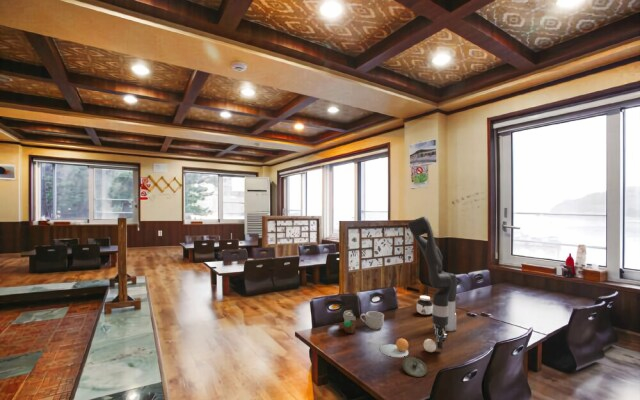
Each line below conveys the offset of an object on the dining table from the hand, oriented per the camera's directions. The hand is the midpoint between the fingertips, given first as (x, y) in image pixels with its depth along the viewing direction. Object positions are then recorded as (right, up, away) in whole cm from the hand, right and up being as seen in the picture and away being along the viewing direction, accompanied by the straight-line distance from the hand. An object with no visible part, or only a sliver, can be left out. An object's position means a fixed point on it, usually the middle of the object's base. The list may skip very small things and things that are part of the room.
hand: (439, 348), depth 157 cm
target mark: (-23, -1, -1) cm, 23 cm away
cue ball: (-5, +2, 0) cm, 5 cm away
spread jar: (+13, -4, +57) cm, 59 cm away
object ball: (-19, +2, 0) cm, 19 cm away
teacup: (-29, -2, +30) cm, 42 cm away
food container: (-44, -1, +24) cm, 50 cm away
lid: (-19, -1, -20) cm, 27 cm away
